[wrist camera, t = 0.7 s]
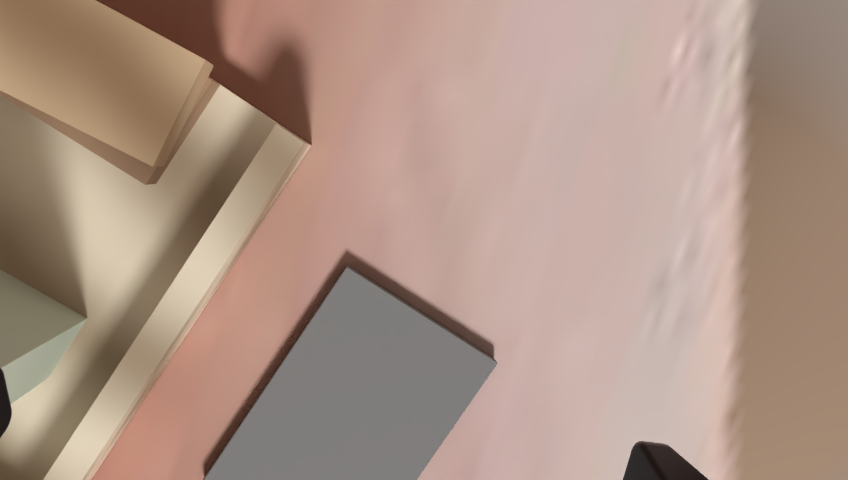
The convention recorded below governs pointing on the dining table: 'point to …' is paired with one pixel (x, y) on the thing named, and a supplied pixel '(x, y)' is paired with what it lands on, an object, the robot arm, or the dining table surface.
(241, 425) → the mat
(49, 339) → the sheet
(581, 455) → the dining table surface
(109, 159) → the offcut
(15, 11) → the offcut
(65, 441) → the rack
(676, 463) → the robot arm
